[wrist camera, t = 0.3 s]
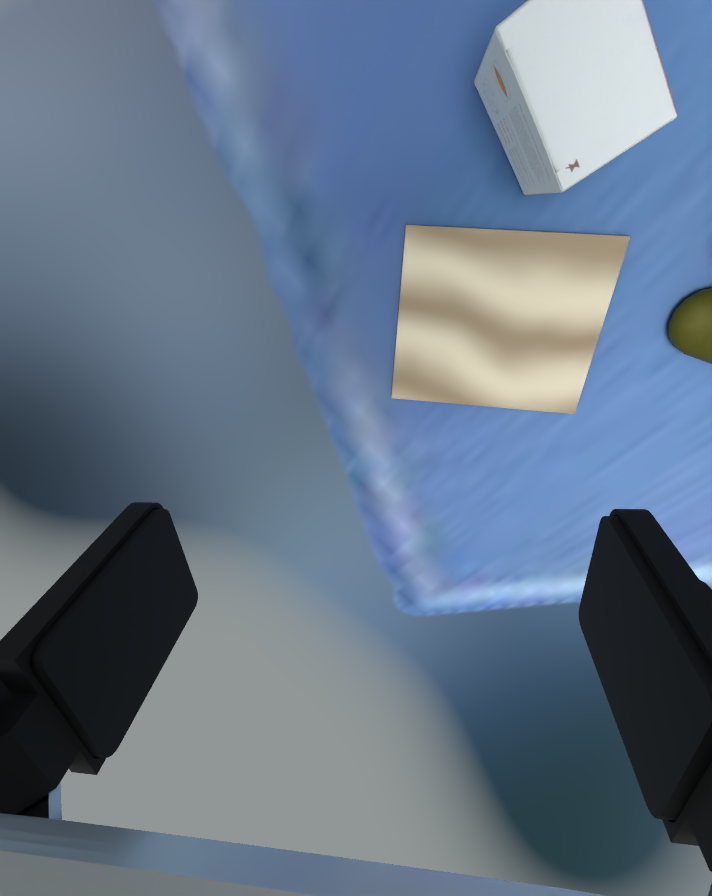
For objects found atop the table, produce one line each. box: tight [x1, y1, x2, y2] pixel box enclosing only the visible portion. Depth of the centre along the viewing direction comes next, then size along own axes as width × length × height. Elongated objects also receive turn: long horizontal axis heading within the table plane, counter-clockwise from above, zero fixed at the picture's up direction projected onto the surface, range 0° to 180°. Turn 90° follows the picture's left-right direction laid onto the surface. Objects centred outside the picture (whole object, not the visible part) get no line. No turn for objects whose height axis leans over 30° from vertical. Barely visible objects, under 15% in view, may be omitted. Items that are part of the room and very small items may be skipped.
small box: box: [474, 0, 678, 195], centre depth 25 cm, size 8×6×10 cm
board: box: [391, 225, 631, 414], centre depth 36 cm, size 14×16×1 cm
